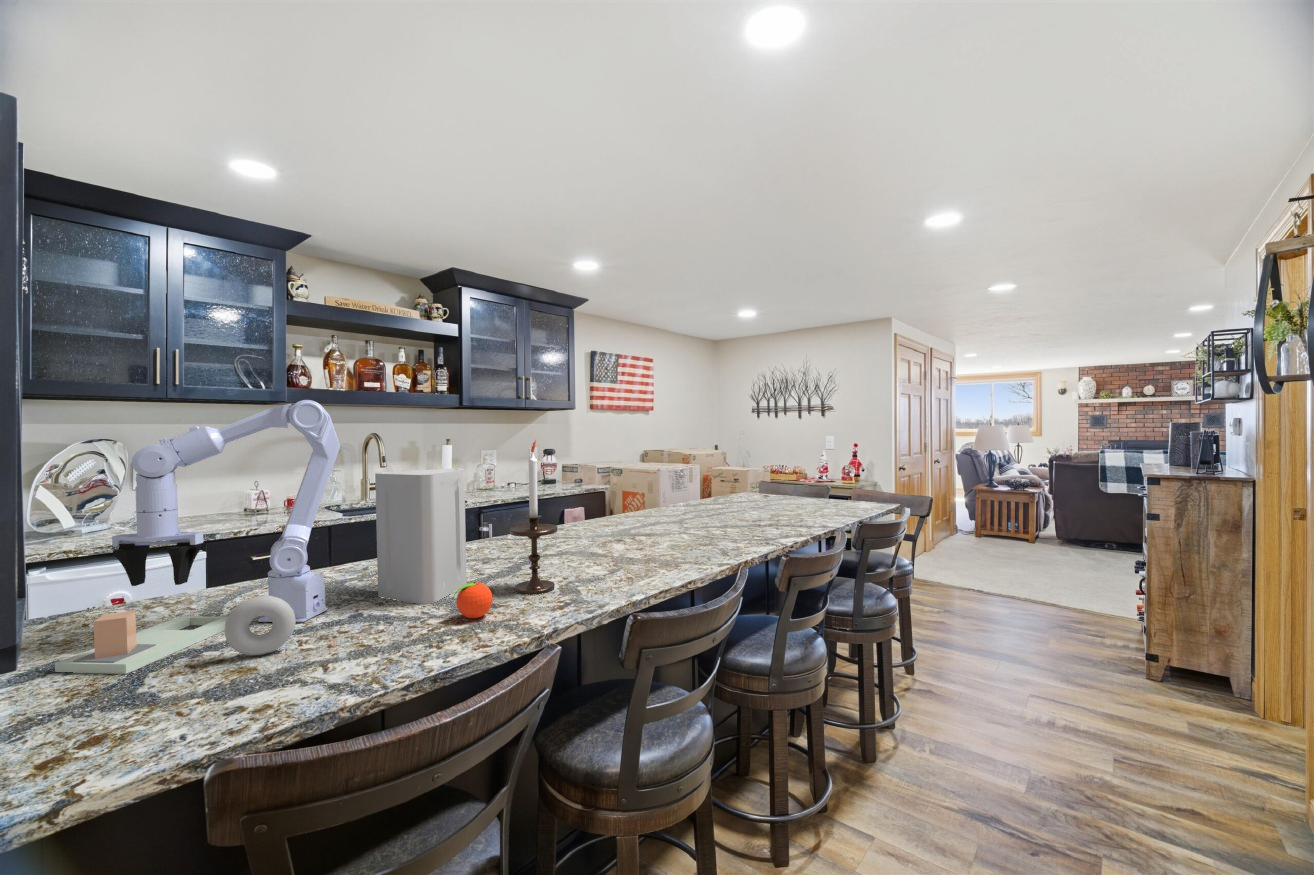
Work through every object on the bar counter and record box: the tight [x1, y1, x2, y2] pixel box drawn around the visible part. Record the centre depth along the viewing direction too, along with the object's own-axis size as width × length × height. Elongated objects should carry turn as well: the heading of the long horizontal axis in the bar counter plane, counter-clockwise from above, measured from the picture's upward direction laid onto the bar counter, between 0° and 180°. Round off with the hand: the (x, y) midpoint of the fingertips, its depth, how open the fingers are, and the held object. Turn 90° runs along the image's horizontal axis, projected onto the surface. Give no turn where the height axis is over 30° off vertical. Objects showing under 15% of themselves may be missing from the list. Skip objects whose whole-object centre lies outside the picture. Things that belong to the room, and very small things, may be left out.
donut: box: [223, 595, 297, 656], centre depth 96 cm, size 10×4×10 cm, turn 118°
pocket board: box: [54, 615, 228, 675], centre depth 100 cm, size 12×22×2 cm, turn 176°
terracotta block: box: [93, 610, 137, 659], centre depth 93 cm, size 4×4×6 cm
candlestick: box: [509, 439, 559, 596], centre depth 132 cm, size 11×11×35 cm
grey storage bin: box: [374, 467, 468, 605], centre depth 129 cm, size 19×15×28 cm
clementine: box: [451, 581, 494, 619], centre depth 113 cm, size 8×7×7 cm
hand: (159, 583), depth 104 cm, fingers open, 7 cm apart
